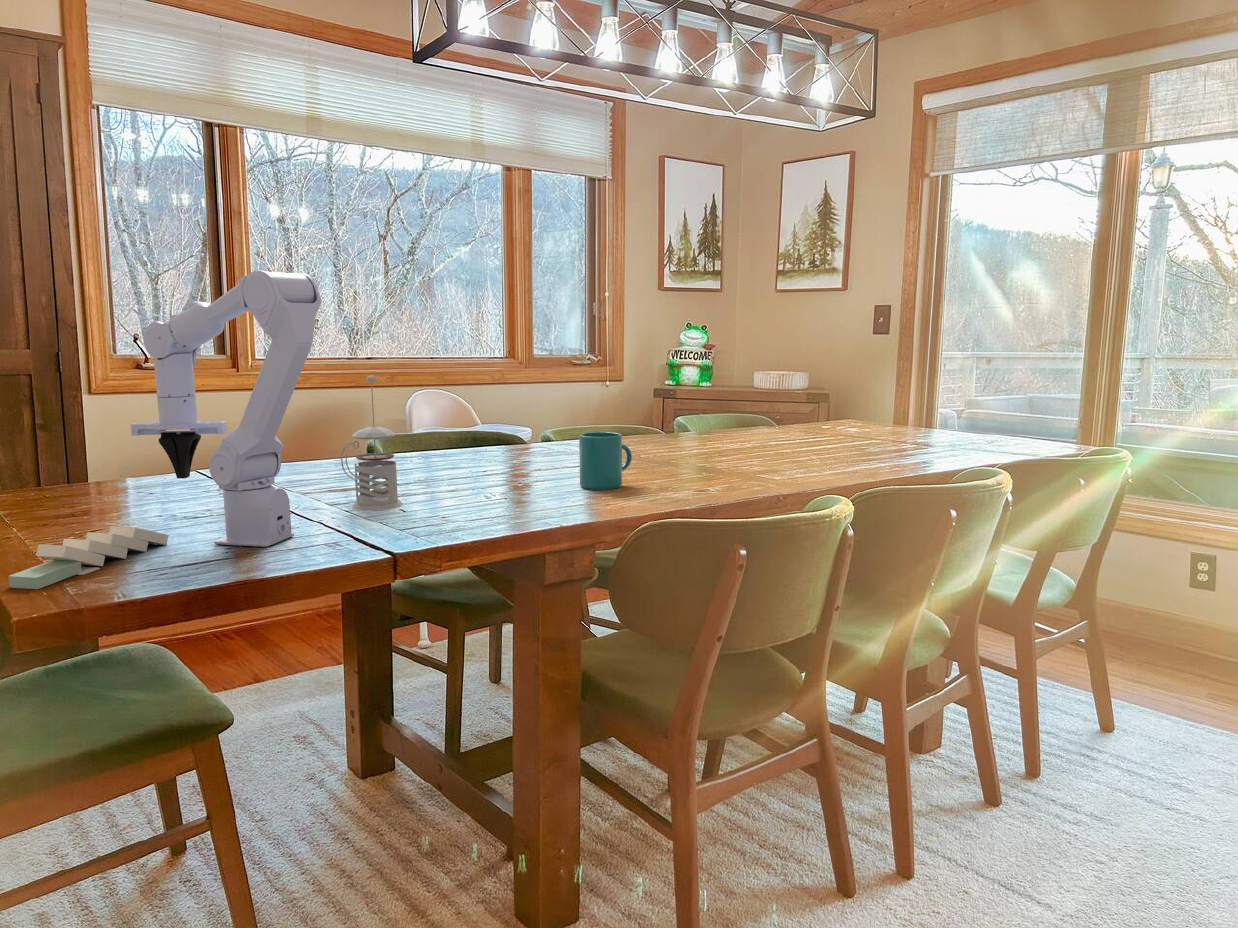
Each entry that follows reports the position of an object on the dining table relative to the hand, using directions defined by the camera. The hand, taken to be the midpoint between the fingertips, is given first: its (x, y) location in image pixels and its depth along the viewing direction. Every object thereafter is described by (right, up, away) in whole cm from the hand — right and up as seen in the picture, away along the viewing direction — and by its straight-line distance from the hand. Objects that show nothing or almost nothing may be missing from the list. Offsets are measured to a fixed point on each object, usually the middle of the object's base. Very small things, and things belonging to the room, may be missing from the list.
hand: (183, 477), depth 149 cm
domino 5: (-2, -10, -6) cm, 12 cm away
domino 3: (-3, -11, -14) cm, 19 cm away
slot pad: (-5, -13, -22) cm, 26 cm away
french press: (+25, -6, +23) cm, 35 cm away
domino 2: (-4, -12, -19) cm, 23 cm away
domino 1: (-5, -12, -23) cm, 26 cm away
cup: (+70, -3, +42) cm, 82 cm away
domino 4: (-3, -11, -10) cm, 15 cm away
